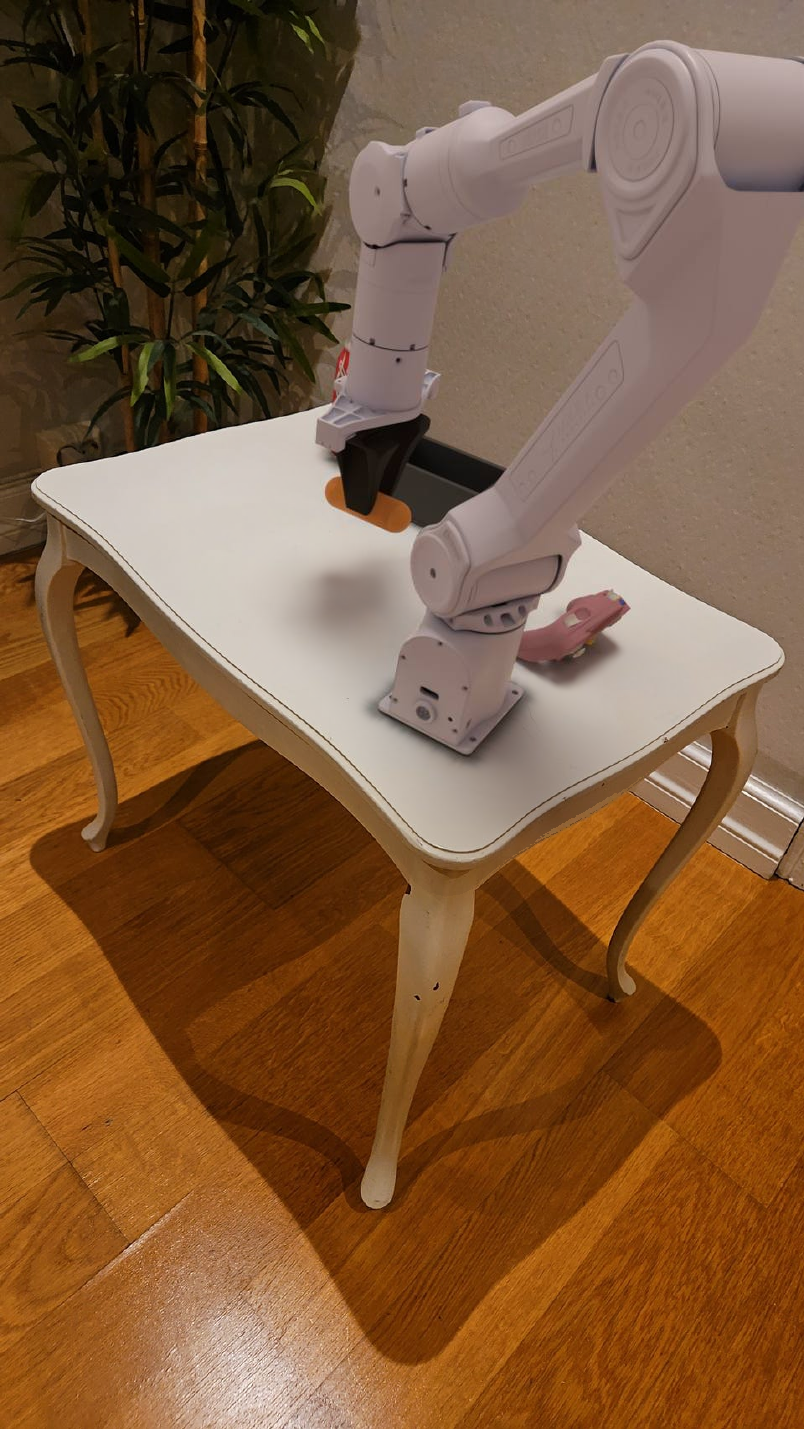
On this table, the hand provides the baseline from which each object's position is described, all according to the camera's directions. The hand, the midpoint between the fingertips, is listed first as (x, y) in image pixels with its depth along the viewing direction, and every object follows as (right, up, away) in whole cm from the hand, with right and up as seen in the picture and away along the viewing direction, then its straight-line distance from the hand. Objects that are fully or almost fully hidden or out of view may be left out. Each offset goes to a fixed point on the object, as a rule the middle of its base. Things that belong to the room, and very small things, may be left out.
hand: (368, 503), depth 76 cm
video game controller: (+17, -12, +3) cm, 21 cm away
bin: (+6, +3, +18) cm, 19 cm away
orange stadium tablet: (0, -1, +1) cm, 1 cm away
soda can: (-2, +10, +25) cm, 27 cm away
